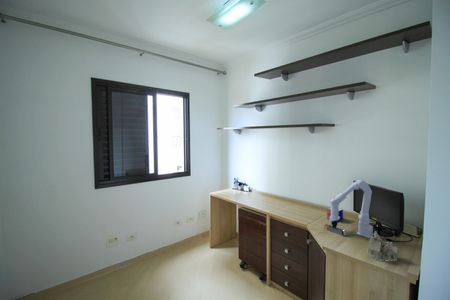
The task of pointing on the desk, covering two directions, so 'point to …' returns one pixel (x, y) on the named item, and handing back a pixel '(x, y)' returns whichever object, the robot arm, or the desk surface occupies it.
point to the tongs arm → (333, 227)
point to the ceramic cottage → (381, 249)
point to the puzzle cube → (340, 214)
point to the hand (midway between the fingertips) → (334, 228)
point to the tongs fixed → (335, 230)
